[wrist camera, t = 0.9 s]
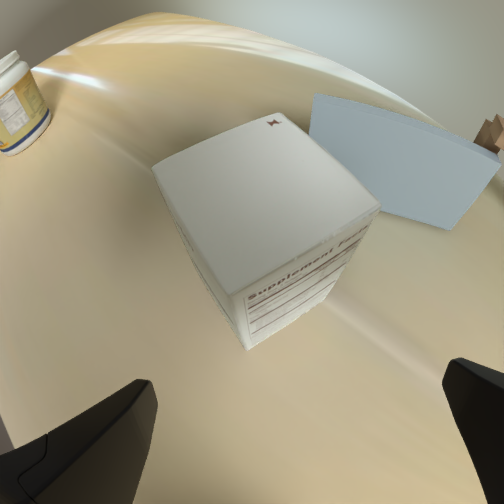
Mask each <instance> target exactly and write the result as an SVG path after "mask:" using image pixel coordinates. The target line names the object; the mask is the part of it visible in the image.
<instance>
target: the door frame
mask: <svg viewBox="0 0 504 504" xmlns="http://www.w3.org/2000/svg"><path fill="white" fill-rule="evenodd" d="M473 143H475V144H477V145H479V146H481V147H483V148H485V149H487V150H489V151H491V152H493V153H495V154H497V153H498V152H499V151H500V149H502V150H504V119H503V118H502V117H500V116H499V115H496V116H495V118H494V120H493V122H490V121H489V120H487V119H486V120H485V122H484V124H483V126H482V128H481V129H480V131H479V133H478V135H477V137H476V139H475V140H474V142H473Z"/></svg>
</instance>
